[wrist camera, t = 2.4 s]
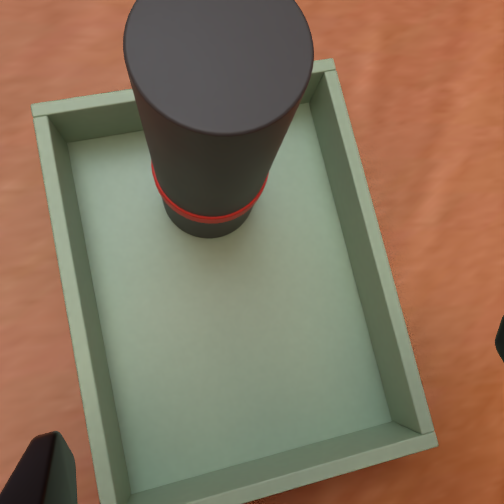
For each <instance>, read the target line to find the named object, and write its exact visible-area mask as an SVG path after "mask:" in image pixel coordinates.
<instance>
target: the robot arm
mask: <svg viewBox="0 0 504 504" xmlns="http://www.w3.org/2000/svg"><path fill="white" fill-rule="evenodd" d="M495 346H496V349H497V351H498V353H499V355H500V357H501V358H502V360H503V362H504V316H503V317H502V320H501V323H500V326H499V329H498V332H497V335H496V338H495ZM0 504H77V485H76V466H75V460H74V456H73V454H72V452H71V450H70V449H69V447H68V445H67V443H66V442H65V440H64V438H63V437H62V435H61V434H60V432H58V431H53V432H49V433H45V434H42V435H38V436H36V437H35V438H34V439H33V440H32V441H31V442H30V444H29V446H28V447H27V449H26V451H25V453H24V454H23V456H22V458H21V459H20V461H19V463H18V465H17V466H16V468H15V470H14V471H13V473H12V475H11V476H10V478H9V480H8V482H7V483H6V485H5V487H4V488H3V490H2V492H1V494H0Z"/></svg>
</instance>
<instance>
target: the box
mask: <svg viewBox="0 0 504 504" xmlns="http://www.w3.org/2000/svg"><path fill="white" fill-rule="evenodd" d="M31 111H32V116H33V122H34V128H35V134H36V140H37V145H38V151H39V157H40V162H41V168H42V174H43V180H44V185H45V191H46V197H47V203H48V208H49V214H50V220H51V225H52V231H53V237H54V243H55V248H56V254H57V260H58V265H59V271H60V277H61V283H62V288H63V294H64V300H65V305H66V311H67V317H68V323H69V328H70V334H71V340H72V345H73V351H74V357H75V363H76V368H77V374H78V380H79V386H80V391H81V397H82V403H83V408H84V414H85V420H86V426H87V431H88V437H89V443H90V448H91V454H92V460H93V466H94V471H95V477H96V483H97V488H98V494H99V500H100V504H243V503H247V502H250V501H254V500H257V499H260V498H264V497H267V496H271V495H274V494H278V493H281V492H284V491H288V490H291V489H295V488H298V487H301V486H305V485H308V484H312V483H315V482H318V481H322V480H325V479H329V478H332V477H335V476H339V475H342V474H346V473H349V472H353V471H356V470H359V469H363V468H366V467H370V466H373V465H376V464H380V463H383V462H387V461H390V460H393V459H397V458H400V457H404V456H407V455H410V454H414V453H417V452H421V451H424V450H428V449H431V448H434V447H438V446H439V445H438V441H437V437H436V434H435V432H434V427H433V423H432V419H431V416H430V412H429V408H428V405H427V401H426V397H425V394H424V390H423V386H422V383H421V379H420V375H419V372H418V368H417V364H416V361H415V357H414V353H413V350H412V346H411V342H410V339H409V335H408V331H407V328H406V324H405V320H404V317H403V313H402V309H401V306H400V302H399V298H398V295H397V291H396V287H395V284H394V280H393V276H392V273H391V269H390V265H389V262H388V258H387V254H386V251H385V247H384V243H383V240H382V236H381V232H380V229H379V225H378V221H377V218H376V214H375V210H374V207H373V203H372V199H371V196H370V192H369V188H368V185H367V181H366V177H365V174H364V170H363V166H362V163H361V159H360V155H359V152H358V148H357V144H356V141H355V137H354V134H353V130H352V126H351V123H350V119H349V115H348V112H347V108H346V104H345V101H344V97H343V93H342V90H341V86H340V82H339V79H338V75H337V71H336V68H335V64H334V60H333V58H330V59H324V60H317V61H314V62H313V70H312V74H311V78H310V81H309V83H308V86H307V89H306V91H305V93H304V95H303V97H302V100H301V102H300V104H299V106H298V109H297V111H296V113H295V115H294V117H293V120H292V122H291V124H290V126H289V128H288V131H287V133H286V135H285V137H284V139H283V142H282V144H281V146H280V148H279V150H278V153H277V155H276V157H275V159H274V161H273V164H272V166H271V168H270V170H269V175H268V179H267V182H266V185H265V187H264V190H263V192H262V194H261V195H260V197H259V199H258V200H257V202H256V203H255V204H254V206H253V208H252V210H251V212H250V214H249V216H248V218H247V219H246V220H245V222H244V223H243V224H242V225H241V226H240V227H239V228H238V229H236V230H235V231H233V232H232V233H230V234H228V235H225V236H222V237H218V238H200V237H196V236H193V235H190V234H188V233H186V232H184V231H182V230H181V229H180V228H178V227H177V226H176V225H175V224H174V223H173V222H172V220H171V219H170V218H169V216H168V214H167V212H166V210H165V208H164V204H163V201H162V197H161V195H160V193H159V192H158V189H157V187H156V184H155V181H154V177H153V174H152V168H151V156H150V153H149V149H148V145H147V141H146V138H145V134H144V130H143V127H142V123H141V119H140V116H139V112H138V108H137V104H136V101H135V97H134V93H133V90H132V89H127V90H120V91H114V92H107V93H101V94H94V95H88V96H81V97H75V98H68V99H62V100H55V101H48V102H42V103H35V104H31Z"/></svg>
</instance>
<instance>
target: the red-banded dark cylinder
mask: <svg viewBox="0 0 504 504" xmlns="http://www.w3.org/2000/svg"><path fill="white" fill-rule="evenodd" d="M123 52H124V59H125V64H126V67H127V71H128V75H129V78H130V82H131V86H132V90H133V93H134V97H135V101H136V104H137V108H138V112H139V116H140V119H141V123H142V127H143V130H144V134H145V138H146V141H147V145H148V149H149V153H150V156H151V168H152V174H153V177H154V181H155V184H156V187H157V189H158V192H159V193H160V195H161V197H162V201H163V204H164V208H165V210H166V212H167V214H168V216H169V218H170V219H171V220H172V222H173V223H174V224H175V225H176V226H177V227H178V228H180V229H181V230H182V231H184V232H186V233H188V234H190V235H193V236H196V237H200V238H218V237H222V236H225V235H228V234H230V233H232V232H233V231H235V230H236V229H238V228H239V227H240V226H241V225H242V224H243V223H244V222H245V220H246V219H247V218H248V216H249V214H250V212H251V210H252V208H253V206H254V204H255V203H256V202H257V200H258V199H259V197H260V195H261V194H262V192H263V190H264V187H265V185H266V182H267V179H268V175H269V170H270V168H271V166H272V164H273V161H274V159H275V157H276V155H277V153H278V150H279V148H280V146H281V144H282V142H283V139H284V137H285V135H286V133H287V131H288V128H289V126H290V124H291V122H292V120H293V117H294V115H295V113H296V111H297V109H298V106H299V104H300V102H301V100H302V97H303V95H304V93H305V91H306V89H307V86H308V83H309V81H310V78H311V74H312V70H313V62H314V48H313V41H312V36H311V32H310V29H309V26H308V23H307V21H306V19H305V17H304V15H303V13H302V11H301V9H300V8H299V6H298V5H297V3H296V2H295V1H294V0H136V2H135V3H134V5H133V7H132V9H131V11H130V13H129V15H128V19H127V22H126V25H125V30H124V36H123Z"/></svg>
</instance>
